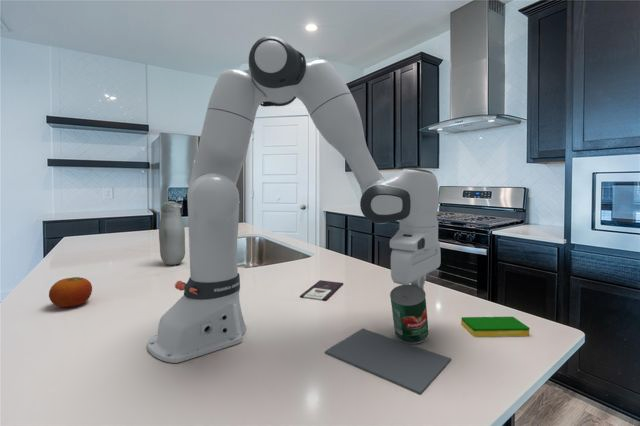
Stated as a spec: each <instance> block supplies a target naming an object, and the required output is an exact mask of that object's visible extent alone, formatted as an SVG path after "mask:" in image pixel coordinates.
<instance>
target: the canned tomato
mask: <svg viewBox="0 0 640 426" xmlns="http://www.w3.org/2000/svg"><path fill="white" fill-rule="evenodd" d="M426 295H427V294H426V292H425V289H424V290H423V289H422V288H421V287H419V286H416V285H411V283H410V284H408V285H402V284H399V285H398V286H395V287H394V288H392V289H391V291H390V293H389V296H390V304H391V312H392V319H393V328H394V334H395V337H396V339H397V340H399V341H402V342H405V343H408V344H411V345H415V344H420V343H422V342H424V341H426V340H427V339H428V338H429V333H430V331H429V323H428V310H427V299H426Z"/></svg>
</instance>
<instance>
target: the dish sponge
mask: <svg viewBox="0 0 640 426" xmlns="http://www.w3.org/2000/svg"><path fill="white" fill-rule="evenodd" d="M460 320H461V321H460V325H461V326H462V327H463V328H464V329H465V330H466V331H467V332H468V333H469V334H470V335H471V336H472V337H475V338H477V337H479V338H481V337H486V338H487V337H488V338H489V337H492V338H493V337H530V327H529V326H528V325H526V324H524V323H523V321H522V322H521V321H520V320H519V319H517V318H516V317H514V316H462V317H461V319H460Z"/></svg>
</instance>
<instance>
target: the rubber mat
mask: <svg viewBox="0 0 640 426" xmlns="http://www.w3.org/2000/svg"><path fill="white" fill-rule="evenodd" d="M324 354H326V355H328V356H330V357H333V358H335V359H338V360H340V361H342V362H344V363H346V364H348V365H349V364H350V365H352V366H354V367H356V368H358V369H361V370H363V371H366V372H368V373H370V374H372V375H374V376H376V377H380V378H381V379H383V380H386V381H388V382H390V383H394V384H395V385H397V386H400V387H402V388H404V389H407V390H409V391H411V392H414V393H416V394H419V395H422V394H423V392H424V391H425V390H426V389H427V388H428V387H429V386H430V385H431V383H432V382H433V381H434V380H435V379H436V377H438V375H440V373H441V372H442V371H443V370H444V369H445V368H446V367H447V365H448V364H449V363H450V362H451V361H452V358H451V357H448V356H446V355H442V354H439V353H437V352H434V351H431V350H428V349H425V348H422V347H420V346H416V345H415V344H408V343H405V342H402V341H400V340H399V339H397V338H396V339H395V338H393V337H389V336H386V335H384V334H382V333H378V332H375V331H372V330H369V329H366V328H361V329H359V330H358V331H355V333H353V334H351V335H349V336H348V337H346V338H344V339H343V340H340V341H339V342H338V343H336V344H335V345H333V346H331V347H330V348H327V349H326V350H324Z"/></svg>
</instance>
